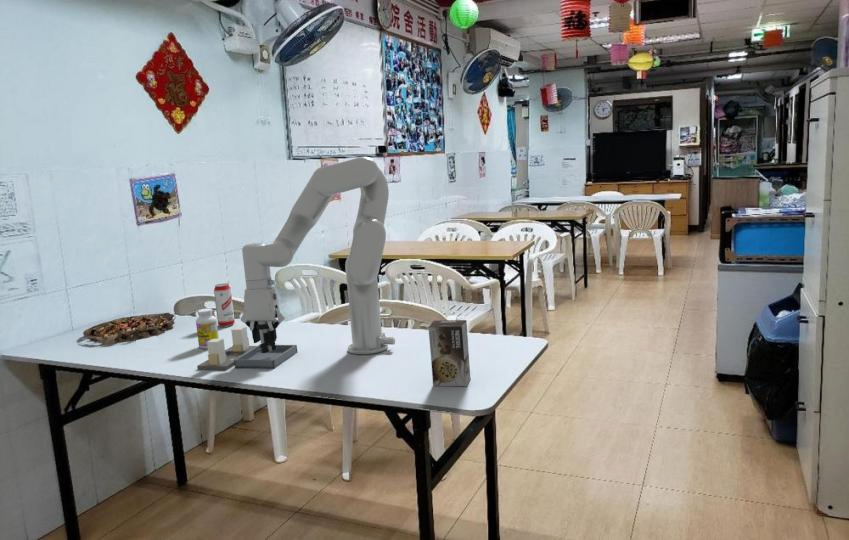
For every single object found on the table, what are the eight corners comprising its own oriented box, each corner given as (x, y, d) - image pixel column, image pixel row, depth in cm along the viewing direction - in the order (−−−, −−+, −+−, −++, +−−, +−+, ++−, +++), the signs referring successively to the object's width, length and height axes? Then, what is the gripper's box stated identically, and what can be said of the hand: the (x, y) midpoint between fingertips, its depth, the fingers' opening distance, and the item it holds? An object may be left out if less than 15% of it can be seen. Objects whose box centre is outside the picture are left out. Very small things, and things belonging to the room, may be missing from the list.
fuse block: (260, 349, 215) (258, 325, 213) (227, 370, 195) (223, 343, 193) (233, 349, 217) (230, 325, 216) (197, 369, 197) (194, 343, 196)
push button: (262, 355, 198) (258, 323, 196) (251, 353, 201) (247, 322, 199) (280, 349, 203) (275, 318, 201) (268, 348, 206) (264, 317, 204)
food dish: (136, 349, 231) (132, 328, 229) (64, 348, 241) (59, 328, 240) (198, 321, 263) (195, 302, 262) (132, 321, 274) (128, 303, 272)
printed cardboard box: (471, 378, 172) (467, 319, 170) (466, 387, 166) (462, 325, 164) (437, 378, 175) (433, 319, 172) (431, 386, 169) (427, 326, 166)
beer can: (238, 324, 253) (233, 283, 250) (225, 328, 248) (220, 286, 245) (227, 322, 256) (222, 282, 254) (214, 326, 251) (209, 286, 248)
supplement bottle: (194, 348, 221) (190, 311, 219) (208, 343, 227) (204, 307, 225) (209, 349, 218) (205, 312, 216) (223, 344, 224) (219, 308, 222)
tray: (297, 352, 208) (296, 344, 208) (274, 368, 193) (273, 360, 193) (260, 352, 211) (259, 344, 211) (235, 368, 196) (234, 360, 196)
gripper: (289, 281, 200) (295, 338, 203) (240, 282, 204) (246, 338, 207) (278, 286, 193) (284, 345, 196) (227, 287, 197) (234, 345, 200)
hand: (265, 341), depth 201 cm, fingers closed on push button, 4 cm apart
